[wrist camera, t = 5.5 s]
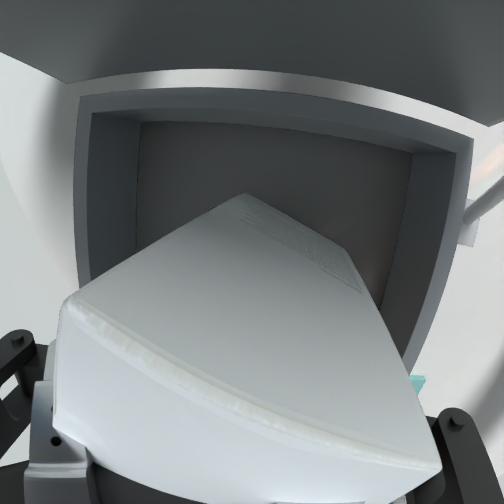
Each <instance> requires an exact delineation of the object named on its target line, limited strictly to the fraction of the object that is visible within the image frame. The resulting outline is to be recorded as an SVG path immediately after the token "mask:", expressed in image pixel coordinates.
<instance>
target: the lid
mask: <svg viewBox="0 0 504 504" xmlns="http://www.w3.org/2000/svg"><path fill="white" fill-rule="evenodd" d="M0 52H1V53H4V54H6V55H8V56H10V57H12V58H15V59H17V60H19V61H21V62H23V63H25V64H27V65H30V66H32V67H34V68H36V69H38V70H40V71H42V72H44V73H46V74H48V75H50V76H52V77H54V78H56V79H58V80H60V81H62V82H64V83H66V84H70V83H74V82H79V81H84V80H89V79H95V78H101V77H107V76H114V75H121V74H129V73H138V72H148V71H160V70H176V69H246V70H262V71H274V72H284V73H293V74H301V75H309V76H316V77H322V78H328V79H334V80H339V81H345V82H350V83H355V84H359V85H364V86H368V87H373V88H377V89H381V90H385V91H389V92H392V93H396V94H400V95H403V96H406V97H410V98H413V99H416V100H420V101H423V102H426V103H429V104H432V105H435V106H437V107H440V108H443V109H446V110H449V111H451V112H454V113H456V114H459V115H462V116H464V117H466V118H469V119H471V120H474V121H476V122H478V123H481V124H483V125H485V126H487V127H490V126H492V125H495V124H497V123H500V122H502V121H504V0H0Z"/></svg>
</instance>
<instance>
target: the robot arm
mask: <svg viewBox="0 0 504 504" xmlns="http://www.w3.org/2000/svg"><path fill="white" fill-rule="evenodd" d="M55 347H56V339H55V340H53V341H52V342H51V343H50V345H42V344H35V341H34V338H33V334H32V333H31V332H30V331H28V330H22V329H20V330H14V331H11V332H9V333H8V334H6V335H5V336H4V337H2V338H1V339H0V387H1V386H2V384H3V383H4V382H6V381H7V380H8V379H9V378H10V377H11V376H12V375H13V374H14V375H15V377H16V379H17V382H18V385H17V387H15V388H14V390H12V391H11V393H9V394H8V396H6V397H5V398H4V399H3V400H1V398H0V459H1V458H2V456H3V455H4V454H5V453H6V452H7V450H8V449H9V448H10V447H11V445H12V444H13V443H14V442H15V441H16V439H17V438H18V437H19V436H20V435H21V433H22V432H23V431H24V430H25V429H26V427H27V426H28V425H29V424H30V423H31V427H30V448H29V460H27V461H23V462H19V463H15V464H11V465H6V466H2V467H0V504H207V503H203V502H198V501H194V500H190V499H187V498H183V497H179V496H176V495H172V494H169V493H166V492H162V491H159V490H157V489H154V488H151V487H149V486H146V485H143V484H141V483H138V482H136V481H133V480H131V479H129V478H126V477H124V476H122V475H119V474H117V473H115V472H113V471H111V470H108V469H106V468H104V467H102V466H100V465H98V464H96V463H94V462H92V458H91V456H90V455H89V453H88V451H87V449H86V447H85V445H83V444H81V443H79V442H77V441H76V440H74V439H72V438H70V437H69V436H67V435H65V434H64V433H62V432H60V431H59V430H57V429H55V428H54V427H53V426H52V424H53V376H54V363H55ZM425 417H426V419H427V422H428V424H429V427H430V430H431V432H432V435H433V438H434V441H435V444H436V447H437V450H438V453H439V456H440V459H441V463H442V470H441V471H440V472H439V473H437V474H436V475H434V476H433V477H431V478H430V479H428V480H427V481H425V482H424V483H422V484H421V485H419V486H418V487H416V488H414V489H413V490H411V491H409V492H408V493H406V501H407V504H504V498H503V495H502V492H501V489H500V486H499V483H498V480H497V477H496V474H495V472H494V469H493V466H492V464H491V461H490V459H489V456H488V454H487V451H486V449H485V446H484V444H483V442H482V439H481V437H480V435H479V432H478V430H477V428H476V426H475V423H474V421H473V419H472V418H471V416H470V415H469V414H468V413H466V412H465V411H463V410H461V409H458V408H447V409H444V410H443V411H442V412H441V413H440V414H439V416H438V417H437V418H434V417H429V416H425ZM365 502H366V501H362V502H347V503H293V502H277V503H276V504H364V503H365Z"/></svg>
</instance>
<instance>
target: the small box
mask: <svg viewBox="0 0 504 504" xmlns="http://www.w3.org/2000/svg"><path fill="white" fill-rule="evenodd" d="M52 426H53V427H54V428H55V429H57V430H59V431H60V432H62V433H64V434H65V435H67V436H69V437H70V438H72V439H74V440H76V441H77V442H79V443H81V444H83V445H85V447H86V449H87V451H88V453H89V455H90V456H91V458H92V462H94V463H96V464H98V465H100V466H102V467H104V468H106V469H108V470H111V471H113V472H115V473H117V474H119V475H122V476H124V477H126V478H129V479H131V480H133V481H136V482H138V483H141V484H143V485H146V486H149V487H151V488H154V489H157V490H159V491H162V492H166V493H169V494H172V495H176V496H179V497H183V498H187V499H190V500H194V501H198V502H203V503H207V504H276V503H277V502H293V503H347V502H362V501H366V502H365V503H364V504H389V503H391V502H393V501H394V500H396V499H398V498H400V497H401V496H403V495H405V494H406V493H408V492H409V491H411V490H413V489H414V488H416V487H418V486H419V485H421V484H422V483H424V482H425V481H427V480H428V479H430V478H431V477H433V476H434V475H436V474H437V473H439V472H440V471H441V470H442V463H441V459H440V456H439V453H438V450H437V447H436V444H435V441H434V438H433V435H432V432H431V430H430V427H429V424H428V422H427V419H426V417H425V414H424V412H423V409H422V407H421V404H420V402H419V399H418V397H417V394H416V392H415V389H414V387H413V385H412V382H411V380H410V378H409V375H408V373H407V371H406V368H405V366H404V364H403V361H402V359H401V357H400V355H399V353H398V350H397V348H396V346H395V344H394V342H393V340H392V338H391V336H390V333H389V331H388V329H387V327H386V325H385V323H384V321H383V319H382V317H381V315H380V313H379V311H378V309H377V307H376V305H375V303H374V301H373V299H372V297H371V295H370V293H369V291H368V289H367V287H366V285H365V283H364V281H363V280H362V278H361V276H360V274H359V272H358V270H357V269H356V267H355V265H354V263H353V262H352V260H351V258H350V256H349V254H348V252H347V251H346V249H344V248H343V247H341V246H339V245H338V244H336V243H334V242H332V241H331V240H329V239H327V238H326V237H324V236H322V235H321V234H319V233H317V232H315V231H314V230H312V229H310V228H308V227H307V226H305V225H303V224H302V223H300V222H298V221H296V220H294V219H293V218H291V217H289V216H287V215H286V214H284V213H282V212H280V211H278V210H277V209H275V208H273V207H271V206H270V205H268V204H266V203H264V202H262V201H260V200H259V199H257V198H255V197H253V196H251V195H249V194H247V193H245V192H242V193H241V194H239V195H237V196H235V197H233V198H231V199H230V200H228V201H226V202H224V203H222V204H220V205H219V206H217V207H215V208H213V209H211V210H209V211H208V212H206V213H204V214H202V215H200V216H199V217H197V218H195V219H193V220H192V221H190V222H188V223H186V224H185V225H183V226H181V227H179V228H178V229H176V230H174V231H173V232H171V233H169V234H167V235H166V236H164V237H162V238H161V239H159V240H157V241H156V242H154V243H153V244H151V245H149V246H148V247H146V248H144V249H143V250H141V251H140V252H138V253H136V254H135V255H133V256H131V257H130V258H128V259H126V260H125V261H123V262H121V263H120V264H118V265H116V266H115V267H113V268H111V269H110V270H108V271H107V272H105V273H104V274H102V275H100V276H99V277H97V278H96V279H94V280H93V281H91V282H90V283H88V284H87V285H85V286H84V287H82V288H81V289H79V290H78V291H76V292H75V293H73V294H72V295H70V296H69V297H68V298H66V299H65V300H64V302H63V304H62V307H61V309H60V314H59V323H58V330H57V337H56V347H55V363H54V376H53V424H52Z"/></svg>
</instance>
